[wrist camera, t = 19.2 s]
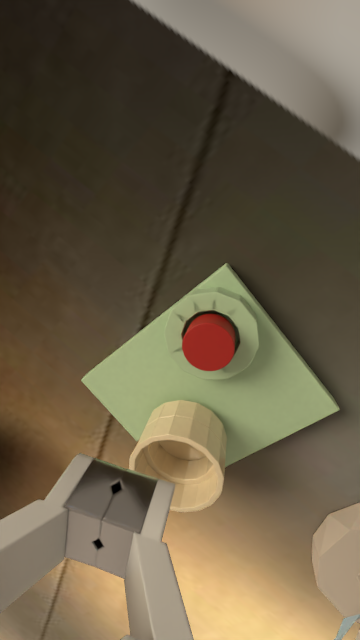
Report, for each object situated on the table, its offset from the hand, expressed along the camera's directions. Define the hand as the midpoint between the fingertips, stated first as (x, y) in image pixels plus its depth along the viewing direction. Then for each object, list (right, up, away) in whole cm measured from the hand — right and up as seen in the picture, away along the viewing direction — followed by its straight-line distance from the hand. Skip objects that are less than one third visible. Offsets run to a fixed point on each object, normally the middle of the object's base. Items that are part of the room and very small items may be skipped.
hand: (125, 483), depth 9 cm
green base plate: (+3, 0, +15) cm, 16 cm away
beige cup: (+2, -4, +15) cm, 16 cm away
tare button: (+4, +4, +11) cm, 12 cm away
